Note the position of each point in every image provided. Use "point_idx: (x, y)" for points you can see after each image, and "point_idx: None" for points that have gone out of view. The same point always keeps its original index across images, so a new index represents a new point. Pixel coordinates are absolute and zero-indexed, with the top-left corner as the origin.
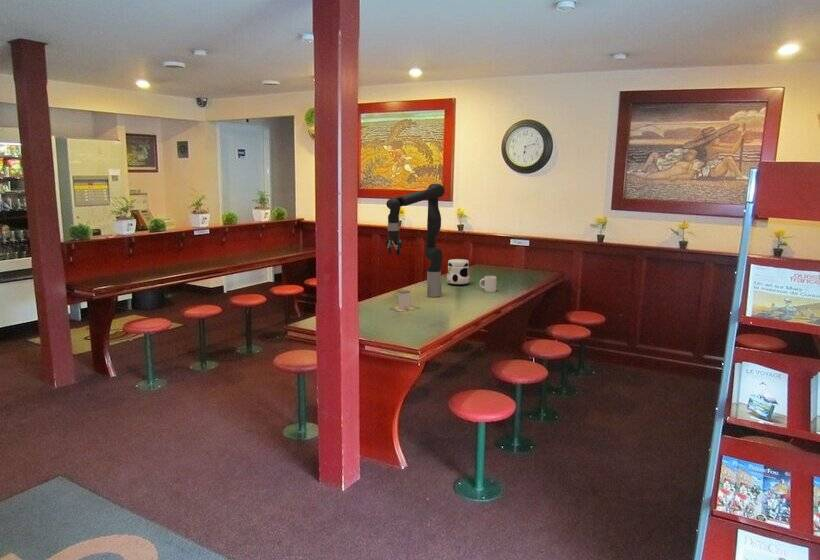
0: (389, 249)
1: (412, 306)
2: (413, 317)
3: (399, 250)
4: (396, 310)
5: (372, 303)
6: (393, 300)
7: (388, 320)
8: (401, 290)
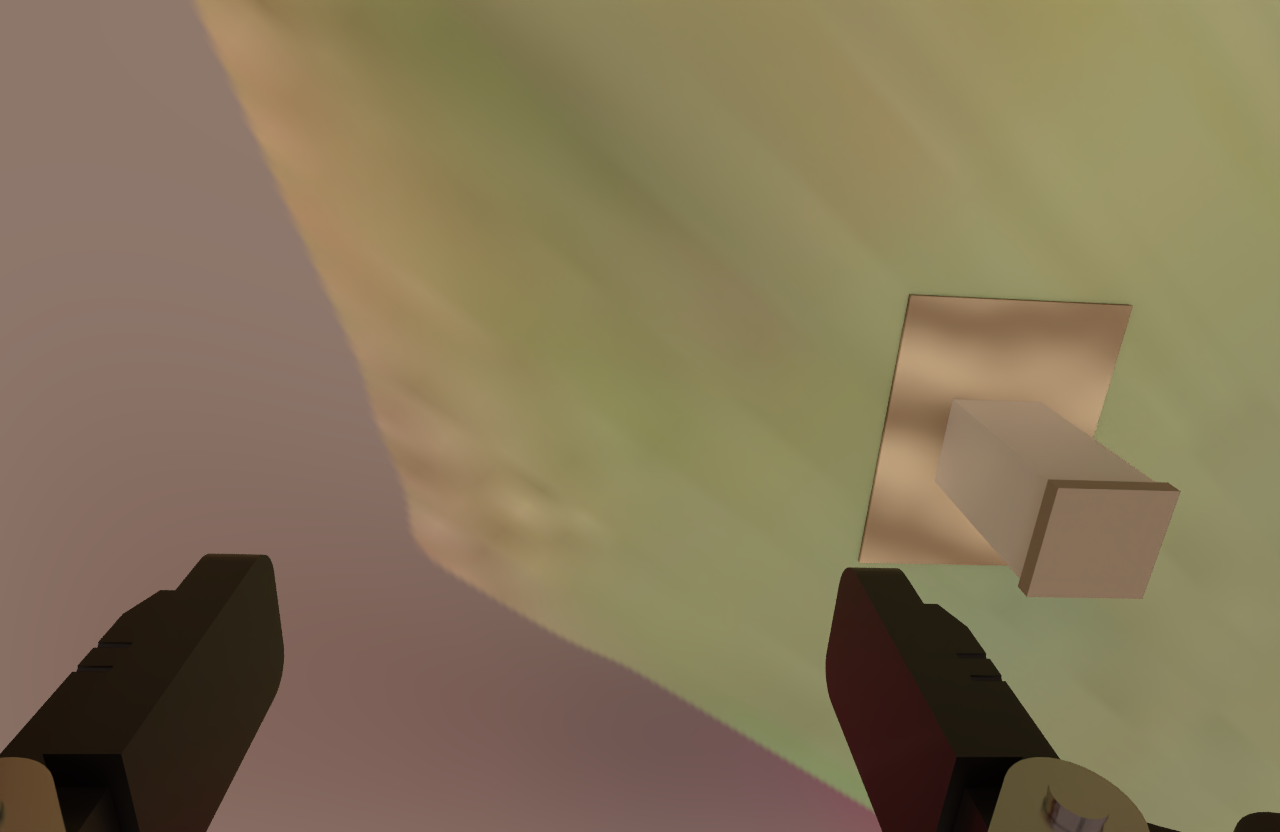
0: (178, 818)
1: (1021, 324)
2: (1276, 590)
3: (1050, 754)
4: (994, 556)
5: (561, 541)
6: (604, 269)
7: (1145, 775)
8: (1056, 546)
